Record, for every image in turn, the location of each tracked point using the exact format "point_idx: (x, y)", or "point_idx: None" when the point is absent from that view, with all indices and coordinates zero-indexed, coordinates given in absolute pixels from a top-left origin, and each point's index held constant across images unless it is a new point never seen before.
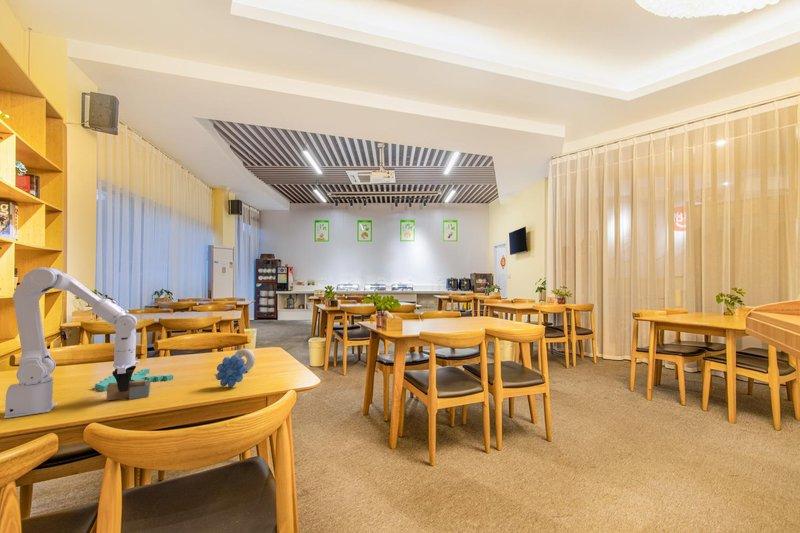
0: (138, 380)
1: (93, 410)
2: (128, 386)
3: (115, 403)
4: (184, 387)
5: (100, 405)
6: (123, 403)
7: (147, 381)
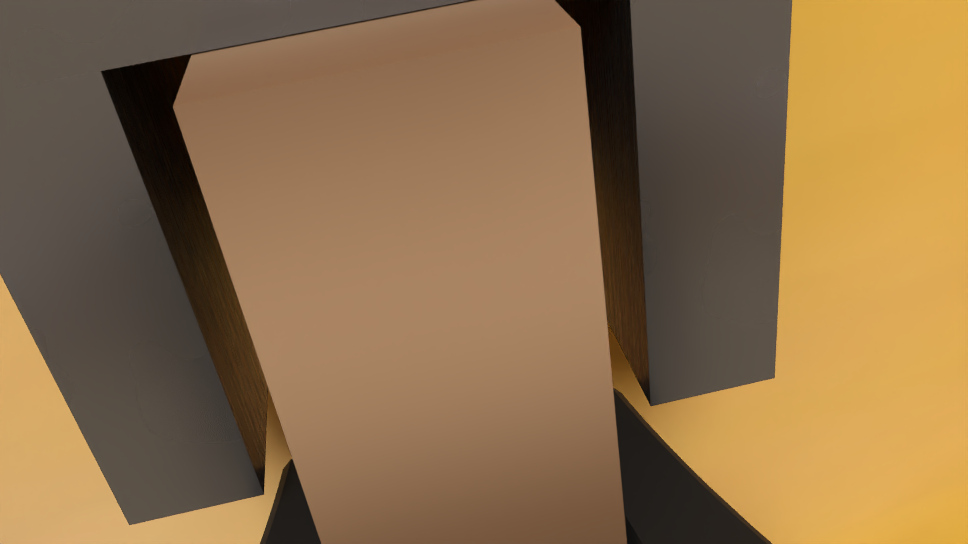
0: (298, 379)
1: (956, 510)
2: None
3: None
4: None
5: None
6: (855, 211)
7: (10, 18)
